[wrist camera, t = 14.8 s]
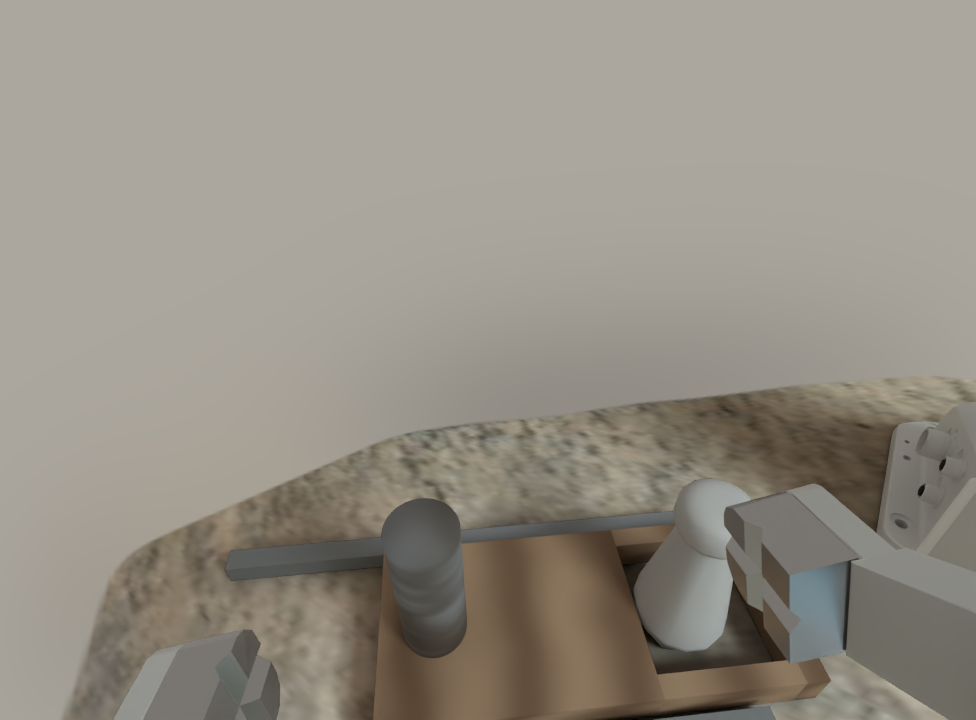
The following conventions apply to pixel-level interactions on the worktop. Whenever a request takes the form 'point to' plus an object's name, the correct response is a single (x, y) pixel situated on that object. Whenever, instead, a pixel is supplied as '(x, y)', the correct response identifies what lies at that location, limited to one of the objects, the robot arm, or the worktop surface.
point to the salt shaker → (690, 571)
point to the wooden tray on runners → (538, 631)
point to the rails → (372, 551)
